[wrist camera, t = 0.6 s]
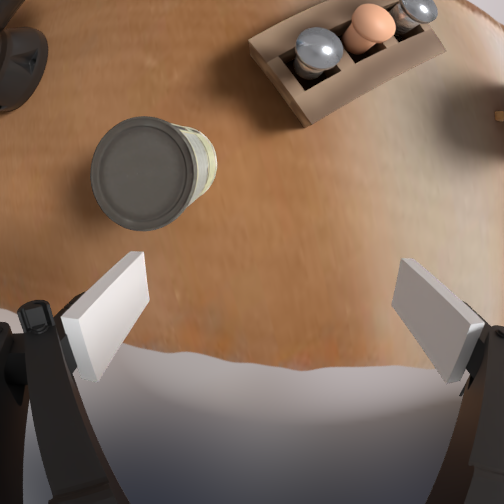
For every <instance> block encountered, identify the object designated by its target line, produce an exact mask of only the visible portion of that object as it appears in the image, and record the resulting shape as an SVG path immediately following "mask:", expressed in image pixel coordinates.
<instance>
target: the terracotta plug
mask: <svg viewBox="0 0 504 504" xmlns="http://www.w3.org/2000/svg"><path fill="white" fill-rule="evenodd" d="M395 30H396V26H395V22H394V19H393V18H392V16H391V15H390V14H389V13H388V12H387V11H386V10H385V9H384V8H382V7H380V6H378V5H375V4H363V5H360V6H359V7H358V8H357V9H356V10H355V11H354V13H353V15H352V23H351V25H350V26H349V27H348V28H347V30H346V31H345V32H344V34H343V35H342V38H341V41H342V44H343V46H344V48H345V49H346V50H347V51H349V52H351V53H353V54H363V53H365V52H366V51H367V50H368V49H370V48H371V47H372V46H373V45H374V44H376V43H382V42H385V41H387V40H388V39H390V38H391V37H392V36H393V35H394V33H395Z"/></svg>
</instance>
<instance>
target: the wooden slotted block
mask: <svg viewBox="0 0 504 504" xmlns="http://www.w3.org/2000/svg"><path fill="white" fill-rule="evenodd" d="M398 3H399V0H327V1H325V2H322V3H320V4H318V5H316V6H313V7H311V8H309V9H307V10H305V11H302V12H300V13H298V14H296V15H294V16H292V17H290V18H288V19H286V20H284V21H282V22H280V23H278V24H276V25H274V26H272V27H271V28H269V29H267V30H265V31H263V32H261V33H260V34H258V35H256V36H254V37H252V38H251V39H249V40H248V42H249V51H250V56H251V57H252V58H253V59H254V61H255V62H256V63H257V64H258V66H259V67H260V68H261V69H262V71H263V72H264V73H265V75H266V76H267V77H268V79H269V80H270V81H271V82H272V84H273V85H274V86H275V88H276V89H277V90H278V92H279V93H280V95H281V96H282V97H283V99H284V100H285V101H286V103H287V104H288V106H289V107H290V108H291V110H292V111H293V113H294V114H295V115H296V117H297V118H298V120H299V121H300V123H301V124H302V126H303V127H304V128H306V127H308V126H310V125H312V124H314V123H315V122H317V121H319V120H320V119H322V118H324V117H325V116H327V115H329V114H330V113H332V112H334V111H335V110H337V109H339V108H341V107H342V106H344V105H346V104H347V103H349V102H351V101H353V100H354V99H356V98H358V97H360V96H361V95H363V94H365V93H367V92H369V91H370V90H372V89H374V88H376V87H378V86H379V85H381V84H383V83H385V82H387V81H389V80H391V79H392V78H394V77H396V76H398V75H400V74H402V73H404V72H406V71H408V70H410V69H412V68H414V67H416V66H418V65H420V64H422V63H424V62H426V61H428V60H430V59H432V58H434V57H436V56H438V55H440V54H442V53H444V52H446V49H445V48H444V46H443V44H442V43H441V41H440V40H439V38H438V37H437V35H436V34H435V32H434V31H433V29H432V28H431V26H430V25H429V24H421V23H420V24H419V25H417V26H416V27H414V28H413V29H411V30H410V31H408V32H407V33H406V34H404V35H400V36H401V37H402V39H403V41H401V42H399V43H398V41H397V40H396V39H395V37H394V36H392V37H391V38H390V39H388V40H387V41H385V42H382V43H376V44H374V45H373V46H372V47H371V48H370V49H368V50H367V51H366V52H365V53H366V55H367V56H368V57H367V58H365V59H363V60H361V61H360V62H358V63H356V64H355V63H354V61H353V60H352V59H351V57H350V56H349V55H348V53H347V52H346V51H345V49H344V48H343V55H342V58H341V60H340V61H339V62H338V63H337V64H336V65H335V66H334V67H333V68H331V69H329V70H324V71H323V73H324V74H325V75H326V77H327V78H328V79H326V80H324V81H322V82H320V83H319V84H317V85H315V86H313V87H312V88H310V89H308V90H307V91H304V89H303V88H302V87H301V85H300V84H299V82H298V81H297V80H296V78H295V77H294V76H293V74H292V73H291V72H290V70H289V69H288V68H287V67H286V65H285V64H286V63H287V62H289V61H291V60H293V59H294V58H296V53H295V44H296V41H297V38H298V36H299V35H300V34H301V33H302V32H303V31H304V30H306V29H309V28H313V27H320V28H324V29H327V30H329V31H331V32H333V33H334V34H335V35H336V36H339V35H341V34H343V33H344V32H345V31H346V30H347V28H348V27H349V26H350V25H351V23H352V15H353V13H354V11H355V10H356V9H357V8H358V7H359V6H360V5H363V4H375V5H378V6H380V7H382V8H384V9H385V10H386V11H387V12H389V11H390V10H391V9H392V8H394V7H395V6H396V5H397V4H398Z"/></svg>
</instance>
